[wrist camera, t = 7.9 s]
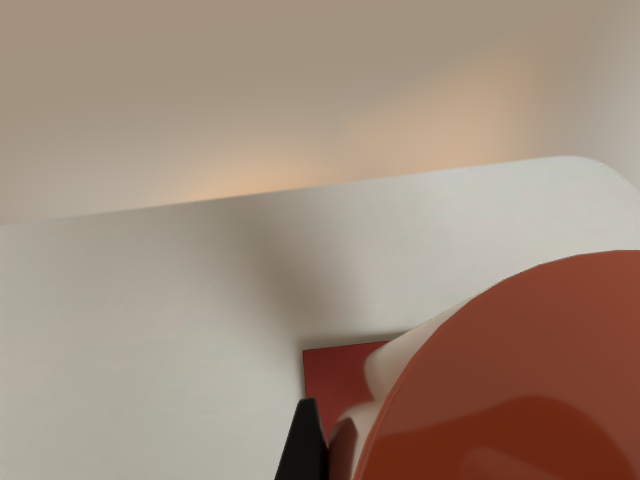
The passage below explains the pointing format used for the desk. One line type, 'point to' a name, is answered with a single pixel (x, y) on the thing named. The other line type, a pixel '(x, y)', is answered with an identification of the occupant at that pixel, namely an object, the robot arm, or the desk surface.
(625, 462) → the orange red candle
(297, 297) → the desk surface
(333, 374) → the oxblood mat
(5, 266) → the desk surface
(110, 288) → the desk surface
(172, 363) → the desk surface
